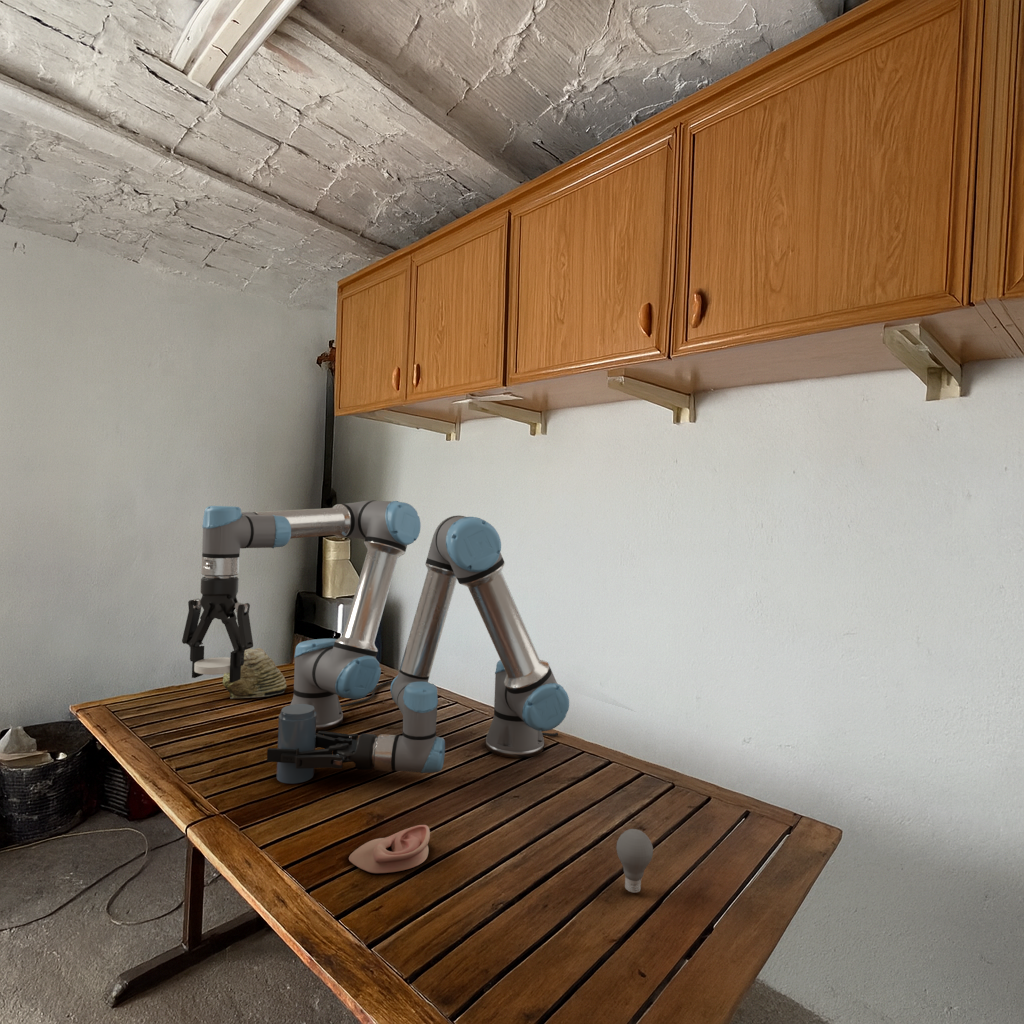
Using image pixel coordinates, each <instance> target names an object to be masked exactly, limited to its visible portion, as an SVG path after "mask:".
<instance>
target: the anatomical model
mask: <svg viewBox="0 0 1024 1024" xmlns="http://www.w3.org/2000/svg"><path fill="white" fill-rule="evenodd" d="M430 838H431V830H430V827H429V826H428V825H427V824H419V825H413V826H411V827H409V828H405V829H403V830H400V831H398V832H396V833H393V834H391V835H389V836H386V837H379V838H375V839H372V840H369V841H367V842H365V843H364V844H362V845H360V846H358V848H356V849H355V850H353V852H352V853H350V855H349V857H348V860H349V862H350V863H351V864H352V865H354V866H356V867H357V868H358V869H361V870H363V871H365V872H367V873H369V874H370V873H371V874H387V873H388V874H389V873H396V872H401V871H405V870H409V869H412V868H415V867H418V866H419V865H421V864H422V863H425V861H426V860H427V859H428V856H429V842H430Z"/></svg>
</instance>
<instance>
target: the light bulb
mask: <svg viewBox="0 0 1024 1024" xmlns="http://www.w3.org/2000/svg"><path fill="white" fill-rule="evenodd" d="M615 849H616V854H617V857H618V859H619V861H620V863H621V865H622V867H623V873H624V874H623V875H624V876H625V878H624V888H625V890H627V891H628V892H630V893H634V894H635V893H639V892H640V891H641V889H642V887H641V886H642V879H643V877H644V875H645V871H646V868H647V867H648V866H649V864H650V863H651V861H652V859H653V855H654V847H653V843H652V841H651V838H649V836H648V835H647V834H646V833H645V832H643V831H642V830H641V829H636V828H629V829H627V830H625V831H623V832H622V833H621V834H620V835H619V837H618V839H617V841H616V847H615Z"/></svg>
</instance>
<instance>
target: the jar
mask: <svg viewBox="0 0 1024 1024" xmlns="http://www.w3.org/2000/svg"><path fill="white" fill-rule="evenodd" d="M316 719H317V713H316V712H315V711H314V707H313V706H312V705H308V704H293V705H290V704H289V705H286V706H283V707H282V708H281V711H280V713H279V714H278V721H277V722H278V724H277V725H278V726H277V749H298V748H299V752H301V751H310V750H316V747H315V745H316V734H317V732H316ZM315 769H316V768H303V769H297V768H296V763H283V762H276V775H275V776H276V780H277V781H278V782H280V783H282V784H287V785H289V784H290V785H291V784H292V785H293V784H301V783H305V782H308V781H309V780H311V779H312V778H314V776H315Z"/></svg>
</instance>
